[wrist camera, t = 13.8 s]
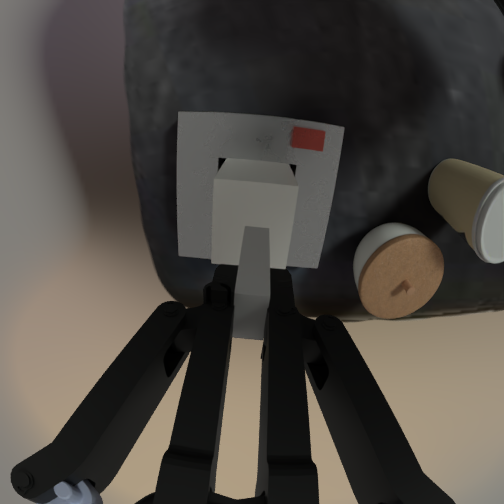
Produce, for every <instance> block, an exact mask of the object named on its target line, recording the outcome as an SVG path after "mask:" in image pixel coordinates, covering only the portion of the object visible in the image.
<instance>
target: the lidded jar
mask: <svg viewBox="0 0 504 504" xmlns="http://www.w3.org/2000/svg"><path fill="white" fill-rule="evenodd" d="M443 271H444V260H443V256H442V253H441V251H440V249H439V248H438V246H437V245H436V244H435V243H434V242H433V241H431V240H430V239H429V238H427V237H426V236H425V235H424V234H423V233H422V232H420V231H419V230H417V229H416V228H414V227H412V226H409V225H407V224H403V223H395V222H393V223H386V224H382V225H380V226H378V227H376V228H374V229H372V230H371V231H370V232H368V233H367V234H366V235H365V236H364V238H363V239H362V240H361V242H360V243H359V245H358V247H357V249H356V252H355V256H354V261H353V272H354V279H355V283H356V286H357V289H358V292H359V296H360V299H361V302H362V304H363V306H364V307H365V308H366V310H367V311H368V312H370V313H371V314H373V315H375V316H377V317H381V318H387V319H391V318H399V317H402V316H405V315H408V314H410V313H412V312H414V311H416V310H417V309H419V308H420V307H422V306H423V305H424V304H425V303H426V302H427V301H428V300H429V299H430V298H431V297H432V296H433V294H434V293H435V292H436V290H437V288H438V286H439V285H440V282H441V279H442V276H443Z"/></svg>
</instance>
